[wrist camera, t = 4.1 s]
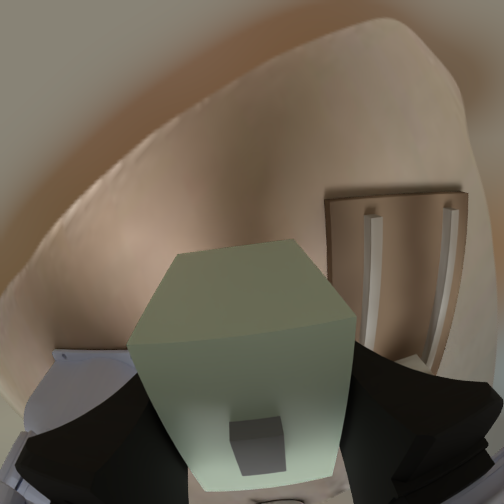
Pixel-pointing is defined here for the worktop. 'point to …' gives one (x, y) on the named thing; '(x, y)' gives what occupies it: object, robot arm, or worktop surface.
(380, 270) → the rail board
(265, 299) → the module
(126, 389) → the robot arm
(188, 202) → the worktop surface
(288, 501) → the mug
